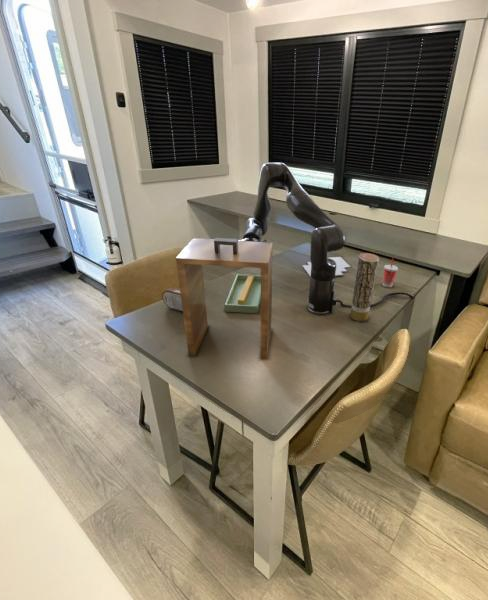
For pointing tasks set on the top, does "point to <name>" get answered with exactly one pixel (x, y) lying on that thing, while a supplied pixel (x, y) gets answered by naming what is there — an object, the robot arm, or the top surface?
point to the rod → (245, 290)
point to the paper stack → (339, 266)
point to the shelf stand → (221, 255)
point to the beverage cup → (389, 274)
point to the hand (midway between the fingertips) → (247, 250)
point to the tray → (251, 300)
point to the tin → (172, 298)
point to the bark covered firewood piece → (364, 286)
